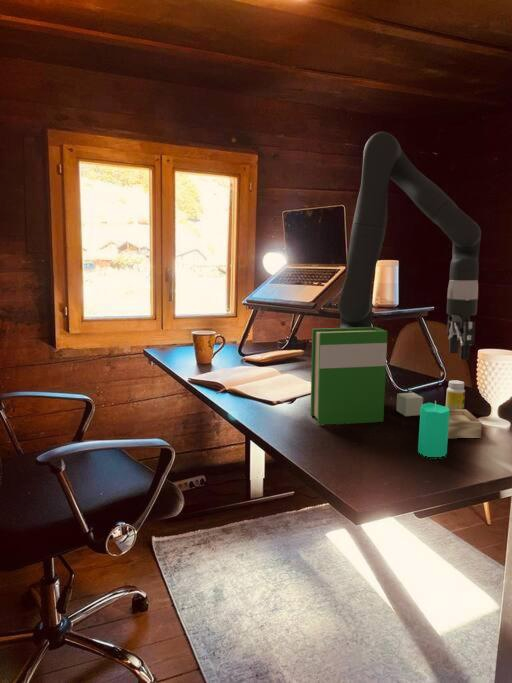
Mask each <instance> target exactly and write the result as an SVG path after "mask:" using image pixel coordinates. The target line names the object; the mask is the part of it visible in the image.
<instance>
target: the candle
mask: <svg viewBox="0 0 512 683" xmlns="http://www.w3.org/2000/svg"><path fill="white" fill-rule="evenodd" d="M449 416H450V409H449V408H448V407H446V406H445V405H444V406H443V405H440V404H437V400H434V403H433V402H426V403H423V405H421V410H420V415H419V425H418V426H419V428H418V431H419V432H418V444H417V452H418V454H419V453H420V454H419V455H421V454H422V455H423V456H422V455H421V456H422V457H425V456H427V457H426V458H428V457H442V456H445V455H446V454H447V453H448V443H449V442H448V440H449V438H448V430H449ZM447 455H448V454H447ZM447 455H446V456H447ZM446 456H445V457H446Z"/></svg>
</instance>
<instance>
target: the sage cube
mask: <svg viewBox="0 0 512 683" xmlns="http://www.w3.org/2000/svg"><path fill="white" fill-rule="evenodd" d="M423 404H424V397H423V396H421V395H419V394H417V393H415V392H402V393H401V392H400V393H397V394H396V412H398V413H399V414H401V415H403V417H411V416H420V410H421V405H423Z"/></svg>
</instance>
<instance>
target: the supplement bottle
mask: <svg viewBox="0 0 512 683" xmlns="http://www.w3.org/2000/svg"><path fill="white" fill-rule="evenodd" d="M464 388H465V382H464V381H461V380H456V379H455V380H449V381H448V387H447V388H446V395H445V396H446V397H445V398H446V399H445V407H448V408H449V409H462V410H465V397H466V390H465V389H464Z"/></svg>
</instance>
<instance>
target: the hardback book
mask: <svg viewBox="0 0 512 683" xmlns="http://www.w3.org/2000/svg"><path fill="white" fill-rule="evenodd" d="M387 348H388V330H385V329H382V328H379V327H377V326H371V327H358V328H340V327H332V328H331V327H330V328H329V327H327V328H326V327H325V328H311V363H310V364H311V371H310V372H311V375H310V379H311V380H310V417H311V416H315V417H314V418H316V419H317V420H316V421H317V423H318V424H336V425H351V424H364V423H366V424H367V423H368V424H369V423H380V422H381V423H382V422H383V423H384V416H385V413H384V411H385V396H386V395H385V393H386V389H385V388H386V375H387V374H386V373H387V354H388V353H387ZM337 423H338V424H337ZM344 423H345V424H344Z"/></svg>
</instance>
